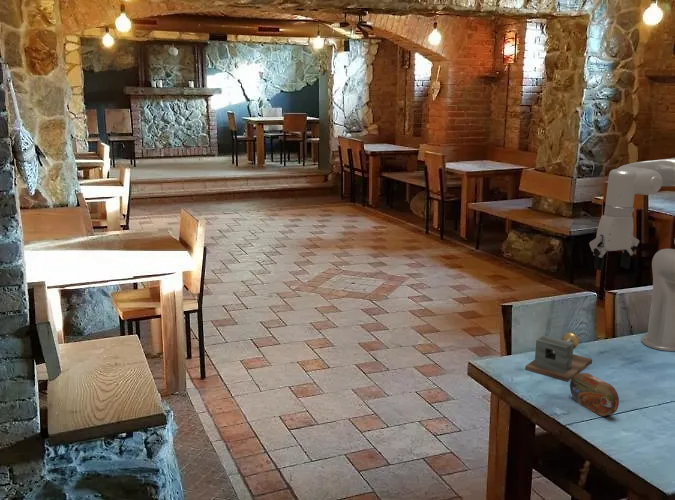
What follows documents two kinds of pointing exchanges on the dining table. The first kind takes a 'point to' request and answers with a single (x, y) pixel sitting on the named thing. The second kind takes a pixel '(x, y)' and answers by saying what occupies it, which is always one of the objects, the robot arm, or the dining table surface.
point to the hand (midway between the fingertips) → (611, 268)
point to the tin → (594, 394)
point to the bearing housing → (557, 359)
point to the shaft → (569, 338)
